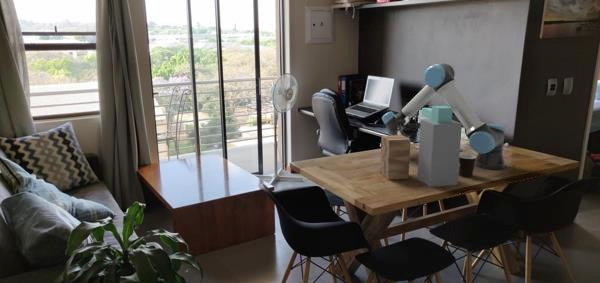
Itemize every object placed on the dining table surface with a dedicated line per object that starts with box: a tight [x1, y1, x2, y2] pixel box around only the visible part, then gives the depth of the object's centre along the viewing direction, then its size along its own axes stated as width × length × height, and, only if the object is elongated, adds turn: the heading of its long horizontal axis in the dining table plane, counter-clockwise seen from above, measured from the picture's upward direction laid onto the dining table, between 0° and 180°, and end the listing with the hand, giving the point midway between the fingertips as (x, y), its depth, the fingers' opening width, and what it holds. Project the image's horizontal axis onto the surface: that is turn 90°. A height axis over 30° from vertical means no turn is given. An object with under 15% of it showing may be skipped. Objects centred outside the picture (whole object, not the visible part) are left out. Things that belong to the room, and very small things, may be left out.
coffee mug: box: [458, 154, 477, 178], centre depth 229 cm, size 12×9×10 cm
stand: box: [417, 118, 463, 188], centre depth 216 cm, size 14×14×30 cm
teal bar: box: [421, 105, 454, 123], centre depth 218 cm, size 21×7×7 cm, turn 10°
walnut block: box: [379, 134, 411, 180], centre depth 227 cm, size 11×11×20 cm
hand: (420, 117), depth 234 cm, fingers open, 13 cm apart
